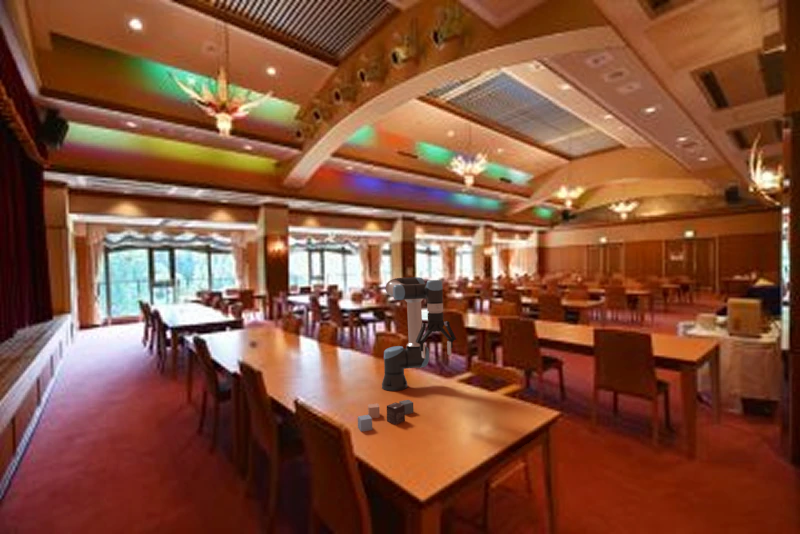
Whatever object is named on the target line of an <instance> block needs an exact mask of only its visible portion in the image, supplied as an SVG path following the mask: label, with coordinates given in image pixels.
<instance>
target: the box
mask: <svg viewBox="0 0 800 534" xmlns="http://www.w3.org/2000/svg"><path fill="white" fill-rule="evenodd" d="M386 421H387V422H388V423H390V424H393V425H398V424H400V423H403V422H404V421H406V415H405V407H404V405H403V404H400V403H399V402H392V403H390V404H388V405H386Z"/></svg>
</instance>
